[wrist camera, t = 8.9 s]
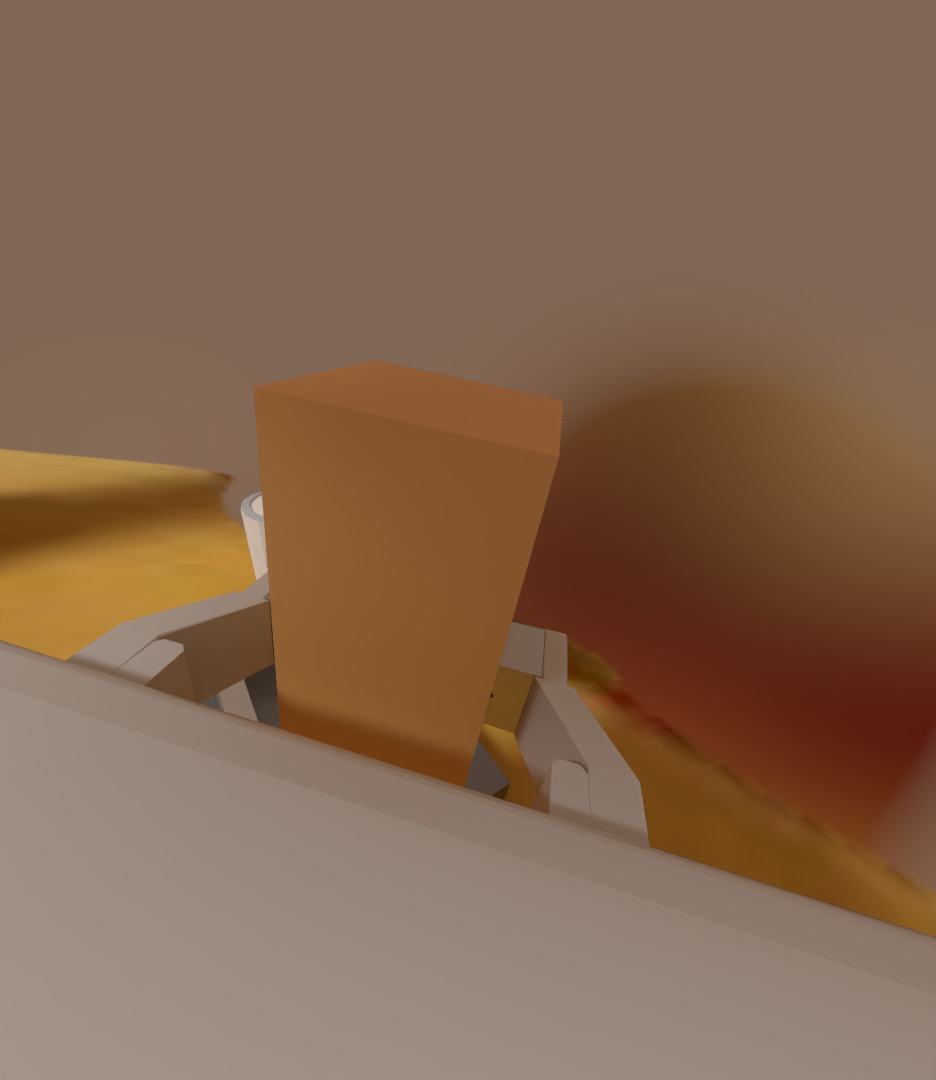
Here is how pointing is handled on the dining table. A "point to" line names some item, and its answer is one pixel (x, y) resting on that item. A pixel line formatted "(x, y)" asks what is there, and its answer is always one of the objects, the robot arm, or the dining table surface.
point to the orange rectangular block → (398, 552)
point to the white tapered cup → (255, 532)
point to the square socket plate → (261, 705)
